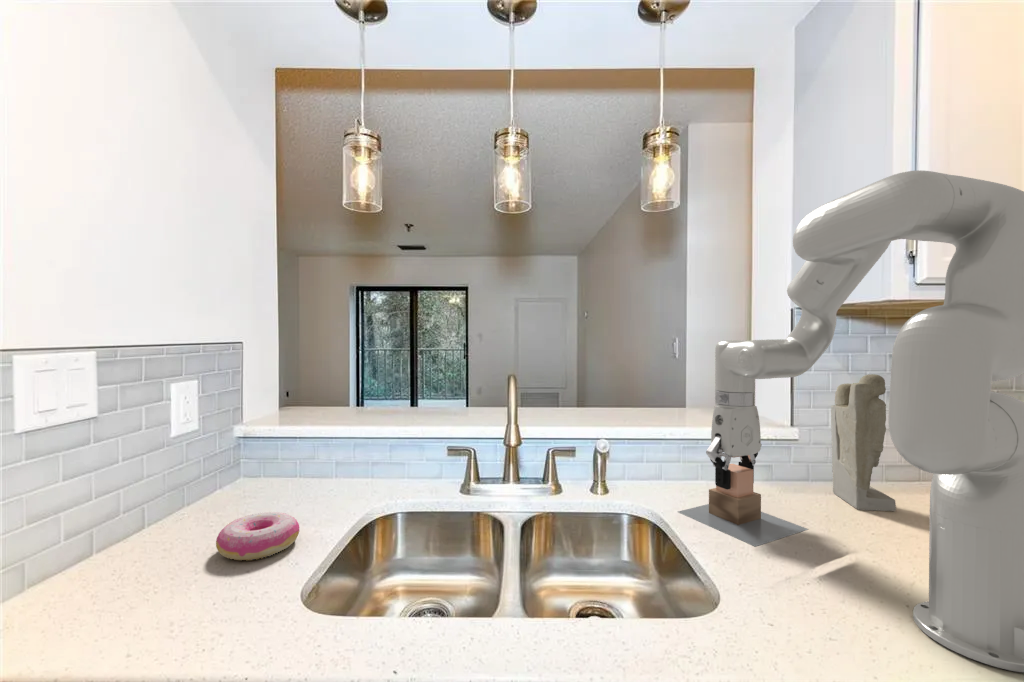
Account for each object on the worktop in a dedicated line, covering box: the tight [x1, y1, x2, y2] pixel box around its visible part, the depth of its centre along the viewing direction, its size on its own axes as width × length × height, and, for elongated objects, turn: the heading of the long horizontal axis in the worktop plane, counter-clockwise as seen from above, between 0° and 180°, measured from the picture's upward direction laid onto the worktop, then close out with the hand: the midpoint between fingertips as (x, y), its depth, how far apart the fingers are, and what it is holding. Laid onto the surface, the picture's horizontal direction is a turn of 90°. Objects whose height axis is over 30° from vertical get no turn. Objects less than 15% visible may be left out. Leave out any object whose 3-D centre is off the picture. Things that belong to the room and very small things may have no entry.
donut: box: [215, 511, 300, 561], centre depth 84 cm, size 14×13×5 cm
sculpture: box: [830, 373, 897, 512], centre depth 104 cm, size 15×8×30 cm, turn 168°
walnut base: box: [708, 487, 762, 525], centre depth 95 cm, size 7×7×5 cm
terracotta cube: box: [715, 463, 754, 498], centre depth 95 cm, size 5×5×5 cm
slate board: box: [677, 503, 809, 548], centre depth 93 cm, size 18×16×1 cm
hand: (734, 484), depth 95 cm, fingers open, 6 cm apart
